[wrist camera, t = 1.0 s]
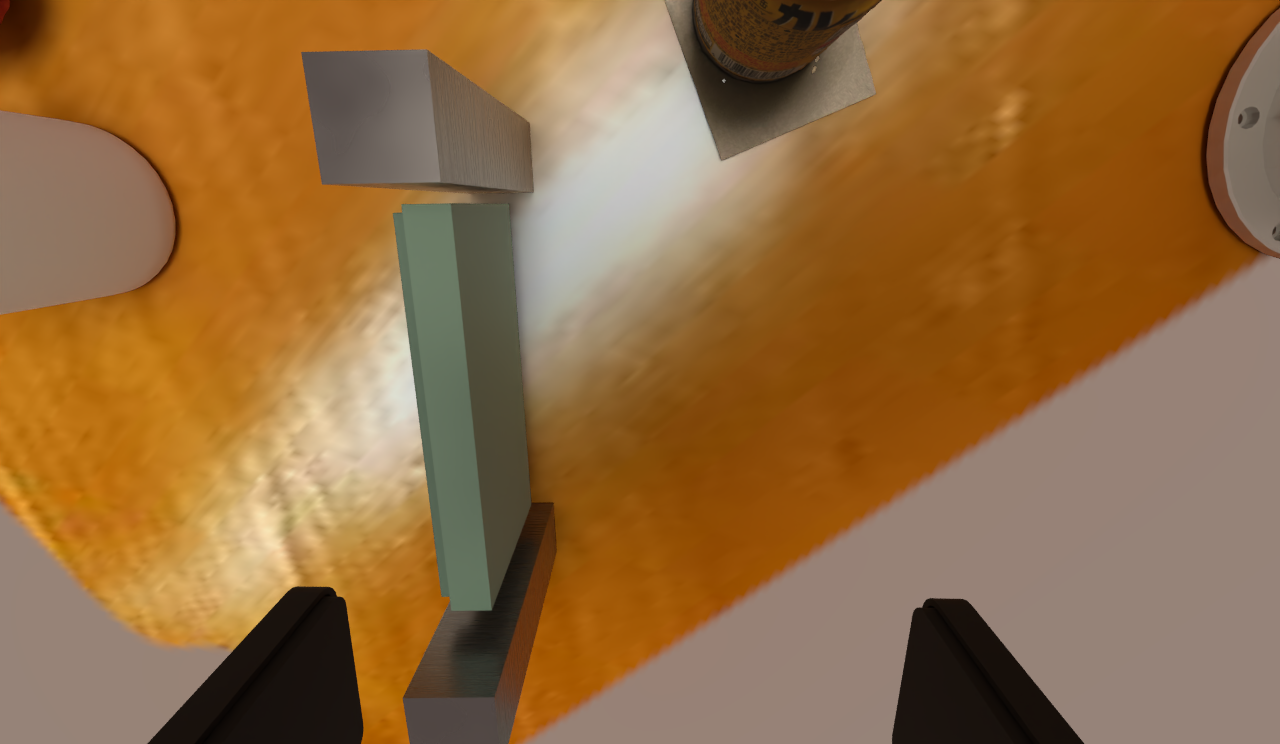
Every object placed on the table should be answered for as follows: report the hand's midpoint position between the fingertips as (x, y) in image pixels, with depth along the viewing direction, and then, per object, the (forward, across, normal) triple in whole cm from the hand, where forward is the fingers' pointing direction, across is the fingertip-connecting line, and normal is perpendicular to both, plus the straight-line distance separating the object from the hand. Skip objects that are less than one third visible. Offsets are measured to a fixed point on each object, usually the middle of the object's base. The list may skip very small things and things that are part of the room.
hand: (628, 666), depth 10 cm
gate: (+19, +7, 0) cm, 20 cm away
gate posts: (+20, +6, 0) cm, 21 cm away
